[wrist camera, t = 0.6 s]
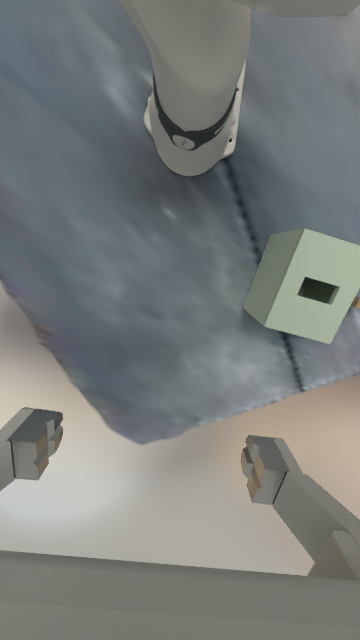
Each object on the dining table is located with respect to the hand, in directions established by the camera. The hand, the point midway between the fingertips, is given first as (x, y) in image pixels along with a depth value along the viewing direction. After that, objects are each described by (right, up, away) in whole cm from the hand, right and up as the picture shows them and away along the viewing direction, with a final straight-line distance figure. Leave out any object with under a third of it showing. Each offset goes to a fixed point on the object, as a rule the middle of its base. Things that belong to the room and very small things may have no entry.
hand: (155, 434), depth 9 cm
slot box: (+26, +15, +43) cm, 52 cm away
